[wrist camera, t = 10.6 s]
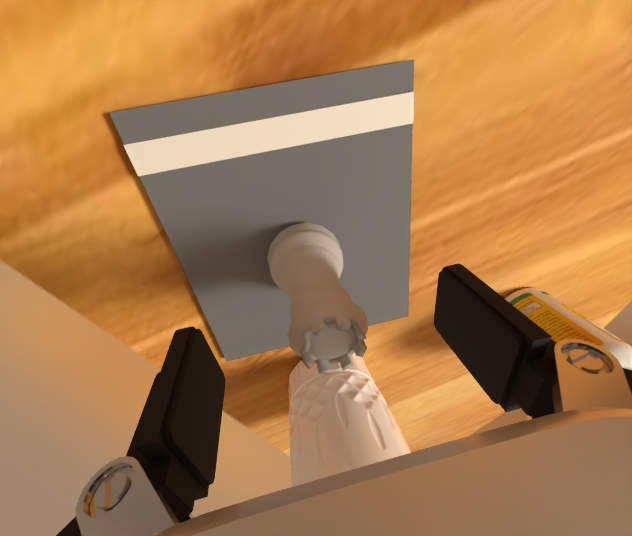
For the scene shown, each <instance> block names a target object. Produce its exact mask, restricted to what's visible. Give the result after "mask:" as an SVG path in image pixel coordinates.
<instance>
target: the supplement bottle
mask: <svg viewBox="0 0 632 536" xmlns="http://www.w3.org/2000/svg"><path fill="white" fill-rule="evenodd" d="M504 299H505V300H507V301H508V302H509V303H510V304H512V305H513V306H514V307H516V308H517V309H518V310H519V311H521V312H522V313H523V314H524V315H526V316H527V317H528V318H529V319H531V320H532V321H533V322H534V323H536V324H537V325H538V326H539V327H541V328H542V329H543V330H544V331H546V332H547V333H548V334H550V335H551V336H552V337H551V339H552V340H553V341H555V342H556V343H557V342H558V341H561V340H564V339H580V340H584V341H588V342H591V343H594V344H596V345H598V346H600V347H602V348H604V349H606V350H607V351H609V352H610V353H611V354H612V355H614V356H615V357H616V358H617V359H618V361H619V362H620V364H621V366H622V368H625V369H629V370H632V347H631V346H630V345H628V344H627V343H625V342H624V341H622V340H621V339H619V338H618V337H616V336H614V335H613V334H611V333H610V332H608V331H607V330H605V329H603V328H602V327H600V326H599V325H597V324H596V323H594V322H592V321H591V320H589V319H588V318H586V317H584V316H583V315H581V314H580V313H578V312H577V311H575V310H573V309H572V308H570V307H569V306H567V305H566V304H564V303H563V302H561V301H559V300H558V299H556V298H555V297H553V296H551V295H550V294H548V293H546V292H545V291H543V290H541V289H537V288H525V289H521V290H518V291H516V292H514V293H512V294H510V295H509V296H507V297H506V298H504Z"/></svg>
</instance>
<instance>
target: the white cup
mask: <svg viewBox="0 0 632 536" xmlns="http://www.w3.org/2000/svg"><path fill="white" fill-rule="evenodd" d="M351 359H352V361H353V364H354V366H352V367H350V368H348V369H346V370H344V371H343V370H342V368H341V365H340V362H338V363H334V364H330V365H331V374H322V373H319V372H318V368H317V364H315V363H314V366H313V367H311V368H310V369H308V368H307V367H306V366H305V365H304V363H303V362H302V360H301V361H299V362H298V364H297V365H296V366H295V368H294V369H293V370H292V372H291V373H290V376H289V386H288V389H289V404H290V409H289V438H290V465H291V482H292V487H294V486H298V485H301V484H304V483H308V482H311V481H315V480H318V479H321V478H325V477H328V476H332V475H335V474H339V473H342V472H345V471H349V470H352V469H356V468H359V467H363V466H366V465H370V464H373V463H377V462H380V461H384V460H387V459H391V458H394V457H398V456H401V455H405V454H408V453H411V451H410V449H409V447H408V445H407V443H406V441H405V439H404V437H403V435H402V433H401V431H400V429H399V427H398V425H397V423H396V421H395V419H394V417H393V415H392V414H391V412H390V410H389V408H388V406H387V404H386V402H385V400H384V398H383V396H382V394H381V393H380V390H379V389H378V388H377V386H376V385H375V384H374V381H373V379H372V378H371V376H370V373H369V371H368V369H367V367H366V365H365V363H364V361H363V359H362V358H361V357H360V356H356V354H355V353H354V354H353V355H352V356H351Z"/></svg>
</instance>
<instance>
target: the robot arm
mask: <svg viewBox="0 0 632 536" xmlns="http://www.w3.org/2000/svg"><path fill="white" fill-rule="evenodd" d="M434 326H435V328H436V330H437V331H438V333H439V334H440V335H441V336H442V338H443V339H444V340H445V341H446V343H447V344H448V345H449V347H450V348H451V349H452V350H453V352H454V353H455V354H456V355H457V357H458V358H459V359H460V360H461V362H462V363H463V364H464V366H465V367H466V368H467V369H468V371H469V372H470V373H471V374H472V376H473V377H474V378H475V380H476V381H477V382H478V383H479V385H480V386H481V387H482V388H483V390H484V391H485V392H486V393H487V395H488V396H489V397H490V399H491V400H492V401H493V402H494V403H496V404H500V405H501V407H502V408H503V409H504V410H505V412H508V411H512V410H515V409H519V408H522V410H523V411H524V412H525V413H526V414H527V421H523V422H519V423H516V424H511V425H508V426H504V427H500V428H497V429H493V430H490V431H486V432H483V433H479V434H476V435H472V436H468V437H465V438H461V439H458V440H454V441H450V442H447V443H443V444H440V445H436V446H433V447H429V448H426V449H422V450H419V451H415V452H412V453H408V454H405V455H401V456H398V457H394V458H391V459H387V460H384V461H380V462H377V463H373V464H370V465H366V466H363V467H359V468H356V469H352V470H349V471H345V472H342V473H339V474H335V475H332V476H328V477H325V478H321V479H318V480H315V481H311V482H308V483H304V484H301V485H298V486H294V487H291V488H287V489H284V490H281V491H277V492H274V493H270V494H267V495H263V496H261V497H257V498H253V499H250V500H247V501H244V502H241V503H237V504H234V505H231V506H228V507H225V508H221V509H218V510H215V511H212V512H209V513H206V514H203V515H200V516H198V517H195V518H193V516H192V514H191V512H192V510H193V506H194V500H197V499H201V498H204V497H207V496H208V488H209V485H210V484H212V483H213V482H214V478H215V470H216V461H217V452H218V443H219V434H220V425H221V417H222V408H223V399H224V390H225V377H224V374H223V372H222V370H221V368H220V366H219V364H218V362H217V360H216V358H215V356H214V355H213V353H212V351H211V349H210V347H209V345H208V343H207V341H206V339H205V337H204V335H203V333H202V331H201V330H200V329H195V328H194V327H188V328H183V329H179V330H176V331H175V333H174V336H173V339H172V341H171V344H170V347H169V350H168V353H167V355H166V358H165V361H164V364H163V366H162V369H161V372H159V373H158V374H157V375H156V377H155V380H154V382H153V385H152V387H151V390H150V393H149V396H148V398H147V401H146V404H145V406H144V409H143V412H142V414H141V417H140V420H139V423H138V426H137V428H136V431H135V433H134V436H133V439H132V442H131V444H130V447H129V450H128V452H127V455H126V456H125V457H120V458H117V459H115V460H113V461H111V462H109V463H108V464H106V465H105V466H104V467H103V468H101V469H100V470H99V471H98V472H97V473H96V474H95V475H94V476H93V477H92V478H91V479H90V481H89V482H88V483H87V485H86V486H85V487H84V489H83V491H82V493H81V495H80V497H79V499H78V503H77V507H76V517H75V518H74V519H73V520H72V521H71V522H70V523H69V524H68V525H67V526H66V527H65V528H64V529H63V530H62V531H61V532H60V533H58V535H56V536H632V370H629V369H625V368H622V366H621V364H620V362H619V361H618V359H617V358H616V357H615V356H614V355H612V354H611V353H610V352H609V351H607V350H606V349H604V348H602V347H600V346H598V345H596V344H594V343H591V342H588V341H584V340H580V339H564V340H561V341H558V342H557V343H556V342H555V341H553V340H552V339H551V337H552V336H551V335H550V334H548V333H547V332H546V331H544V330H543V329H542V328H541V327H539V326H538V325H537V324H536V323H534V322H533V321H532V320H531V319H529V318H528V317H527V316H526V315H524V314H523V313H522V312H521V311H519V310H518V309H517V308H516V307H514V306H513V305H512V304H510V303H509V302H508V301H507V300H505V299H504V298H503V297H502V296H500V295H499V294H498V293H497V292H495V291H494V290H493V289H492V288H490V287H489V286H488V285H487V284H485V283H484V282H483V281H481V280H480V279H479V278H478V277H476V276H475V275H474V274H473V273H471V272H470V271H469V270H468V269H466V268H465V267H464V266H463V265H461V264H455V265H450V266H446V267H444V268H443V269H442V271H441V272H440V273H439V277H438V286H437V296H436V305H435V314H434Z"/></svg>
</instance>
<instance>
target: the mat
mask: <svg viewBox="0 0 632 536" xmlns="http://www.w3.org/2000/svg"><path fill="white" fill-rule="evenodd" d="M413 77H414V60H408V61H403V62H397V63H391V64H385V65H380V66H374V67H368V68H363V69H357V70H351V71H345V72H340V73H334V74H328V75H322V76H317V77H311V78H305V79H299V80H294V81H288V82H282V83H276V84H271V85H265V86H259V87H253V88H248V89H242V90H236V91H231V92H225V93H219V94H213V95H208V96H202V97H196V98H190V99H185V100H179V101H173V102H167V103H162V104H156V105H150V106H144V107H139V108H133V109H127V110H121V111H116V112H110V113H109V114H110V116H111V118H112V120H113V122H114V124H115V127H116V129H117V131H118V133H119V135H120V137H121V139H122V141H123V143H124V145H123V146H124V148H125V150H126V152H127V154H128V156H129V158H130V160H131V162H132V165H133V167H134V169H135V171H136V173H137V175H138V176H139V177H140V179H141V182H142V184H143V186H144V188H145V190H146V192H147V194H148V196H149V198H150V201H151V203H152V205H153V207H154V209H155V211H156V213H157V215H158V217H159V220H160V222H161V224H162V226H163V228H164V230H165V232H166V234H167V236H168V239H169V241H170V243H171V245H172V247H173V249H174V251H175V253H176V255H177V258H178V260H179V262H180V264H181V266H182V268H183V270H184V272H185V275H186V277H187V279H188V281H189V283H190V285H191V287H192V289H193V291H194V294H195V296H196V298H197V300H198V302H199V304H200V306H201V308H202V310H203V313H204V315H205V317H206V319H207V321H208V323H209V325H210V327H211V329H212V332H213V334H214V336H215V338H216V340H217V342H218V344H219V346H220V348H221V351H222V353H223V355H224V357H225V359H226V361H230V360H234V359H238V358H242V357H246V356H250V355H254V354H258V353H262V352H266V351H270V350H274V349H278V348H282V347H286V346H290V344H289V340H288V335H287V334H288V331H289V328H290V324H291V322H292V320H291V316H290V311H289V310H290V307H291V303H292V301H291V298H290V296H289V295H287V294H286V293H285V292H283V291H281V289H280V288H279V287H278V286H277V284H276V283H275V282H274V280H273V279H272V277H271V273H270V269H269V264H268V260H267V256H268V252H269V247H270V244H271V243H272V242H273V240H274V239H275V238H276V236H277V235H278V234H279V233H280V232H281V231H283V230H285V229H286V228H288V227H290V226H291V225H296V224H301V223H307V222H308V223H312V224H317V225H322V226H323V227H325V228H326V229H327V230H329V231H330V232H332V233H333V234H334V236H335V238H336V239H337V241H338V243H339V245H340V248H341V250H342V253H343V270H342V272H341V275H340V278H339V281H340V285H341V287H342V288H344V289H346V291H347V292H348V294H349V295H350V297H351V302H353V303H354V304H356V305H358V306H359V307H361V308H362V310H363V311H364V313H365V315H366V316H367V325H368V326H370V325H374V324H378V323H382V322H386V321H390V320H394V319H398V318H402V317H406V316H408V303H409V258H410V212H411V167H412V123H413V119H414V92H413Z"/></svg>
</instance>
